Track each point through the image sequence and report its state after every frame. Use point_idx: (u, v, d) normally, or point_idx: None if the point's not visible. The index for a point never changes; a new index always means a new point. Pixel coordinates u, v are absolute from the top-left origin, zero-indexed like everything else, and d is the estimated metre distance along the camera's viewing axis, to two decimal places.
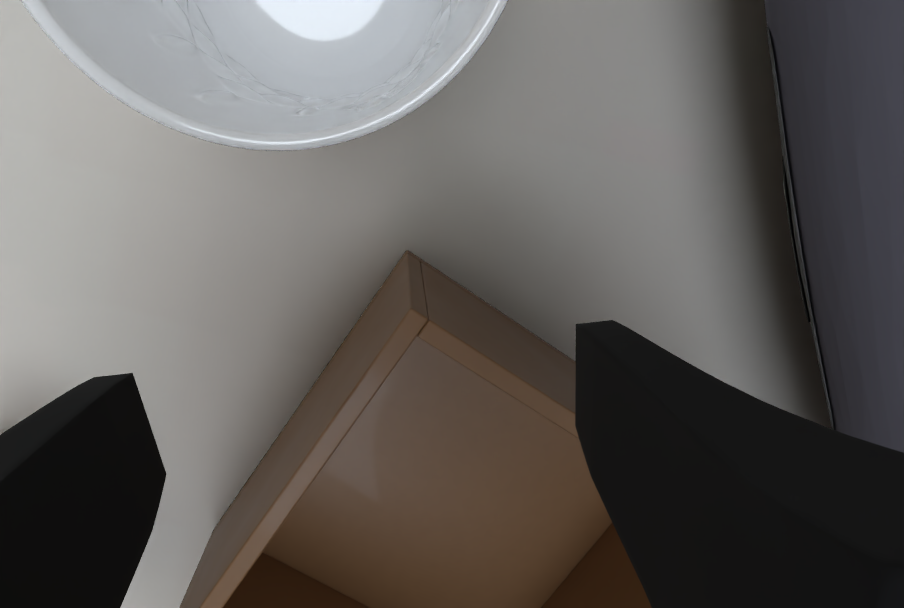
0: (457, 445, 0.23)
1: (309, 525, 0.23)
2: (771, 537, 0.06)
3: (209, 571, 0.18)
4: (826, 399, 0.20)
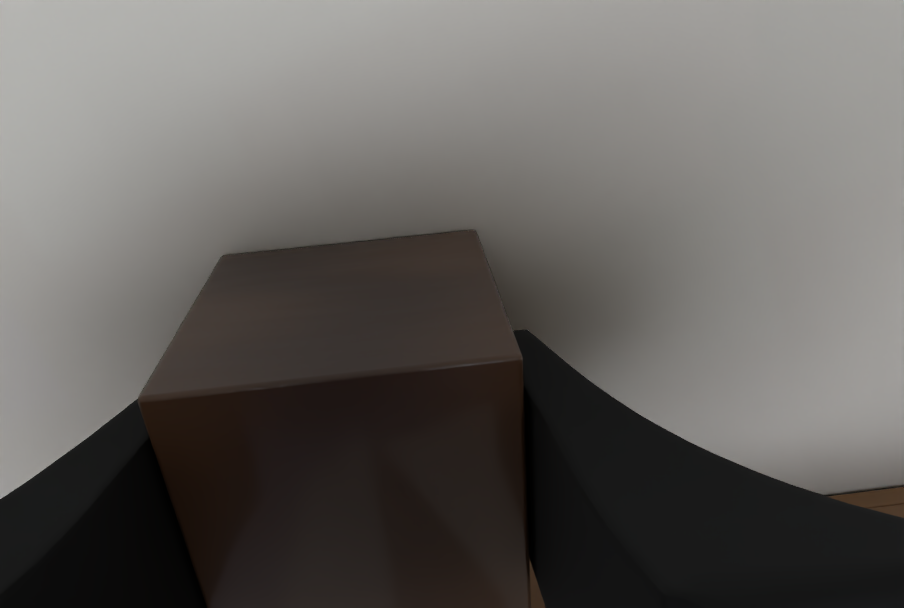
0: None
1: None
2: (605, 558, 0.05)
3: None
4: None
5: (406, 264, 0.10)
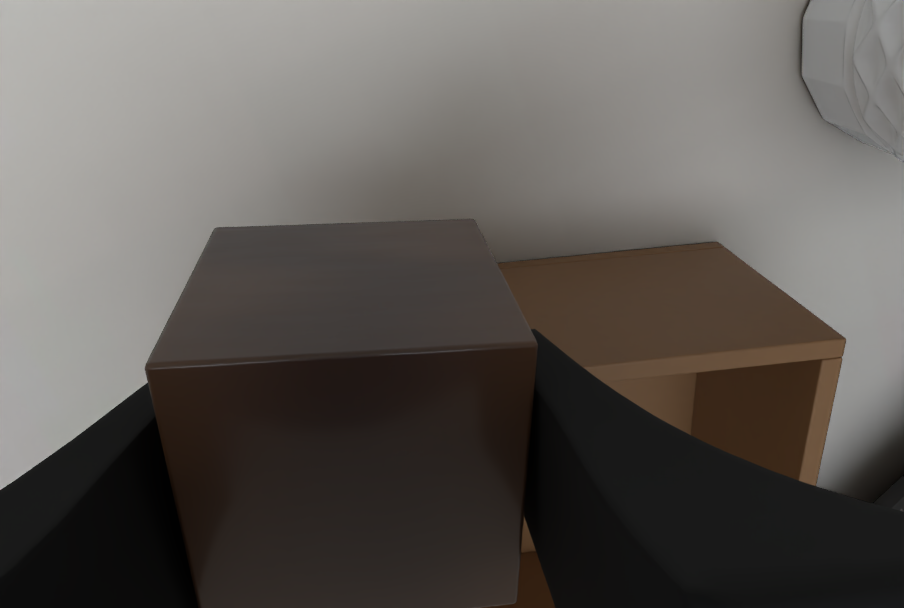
0: None
1: None
2: (620, 557, 0.05)
3: None
4: None
5: (409, 248, 0.10)
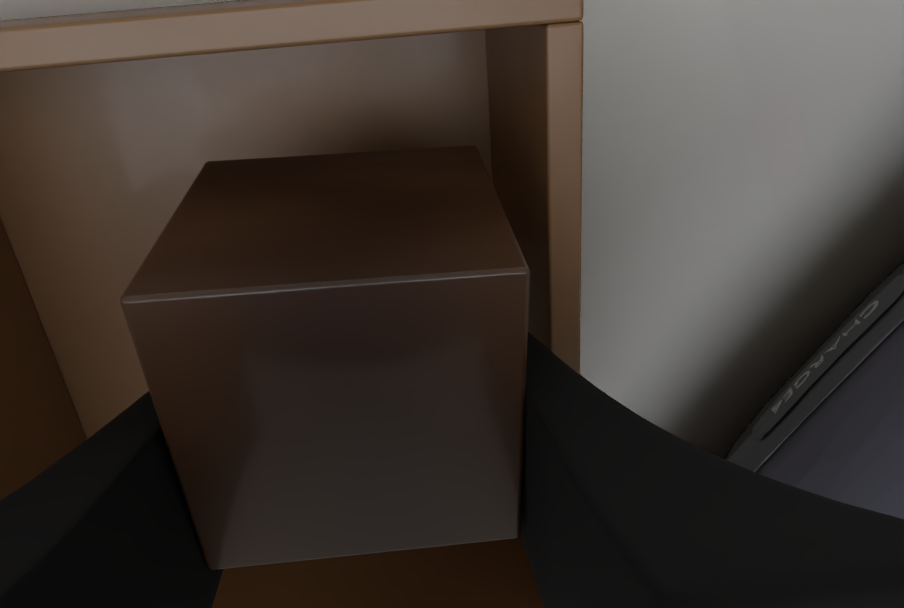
0: None
1: (60, 149, 0.14)
2: (603, 559, 0.05)
3: None
4: None
5: (405, 177, 0.10)
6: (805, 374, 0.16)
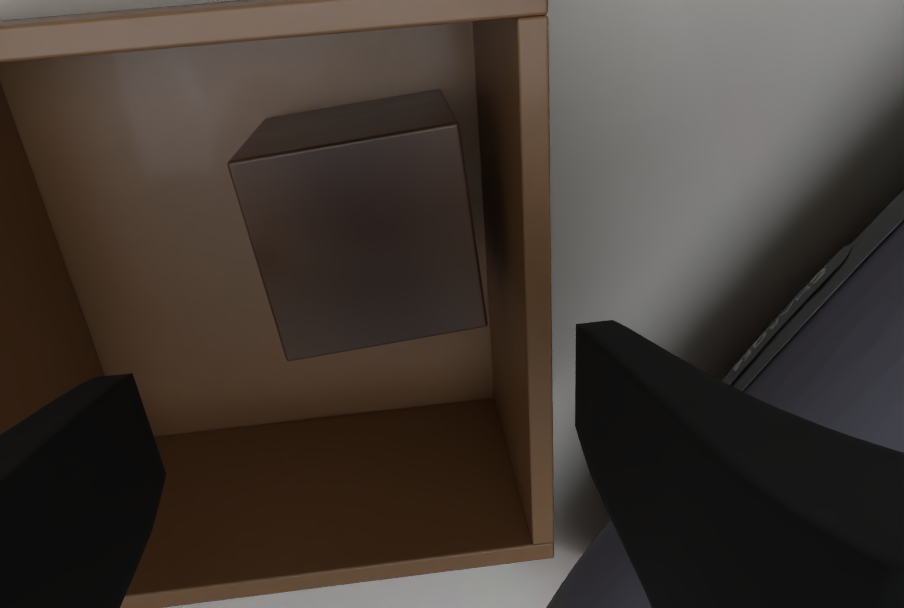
0: None
1: (95, 131, 0.16)
2: (771, 537, 0.06)
3: None
4: None
5: (391, 105, 0.15)
6: (762, 336, 0.18)
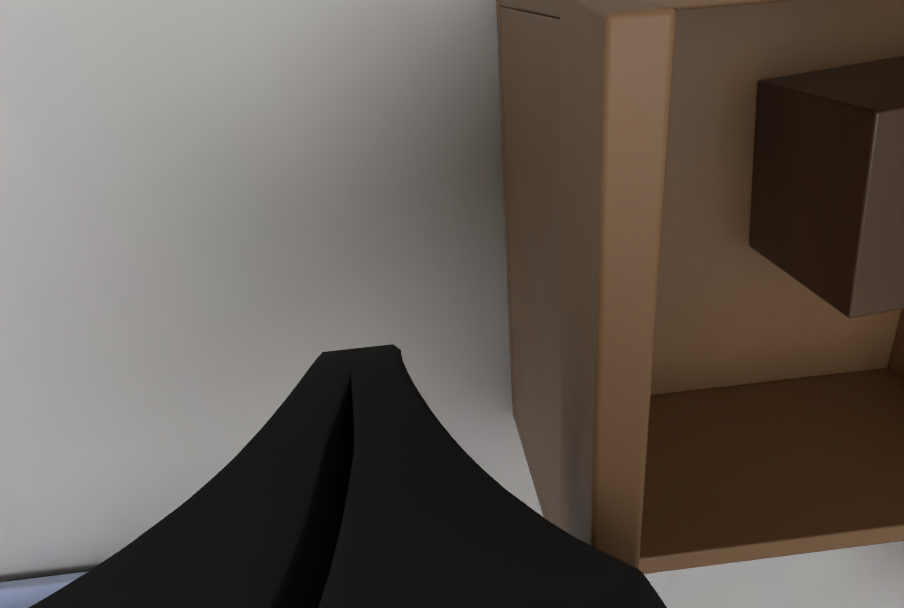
0: None
1: None
2: None
3: None
4: None
5: None
6: None
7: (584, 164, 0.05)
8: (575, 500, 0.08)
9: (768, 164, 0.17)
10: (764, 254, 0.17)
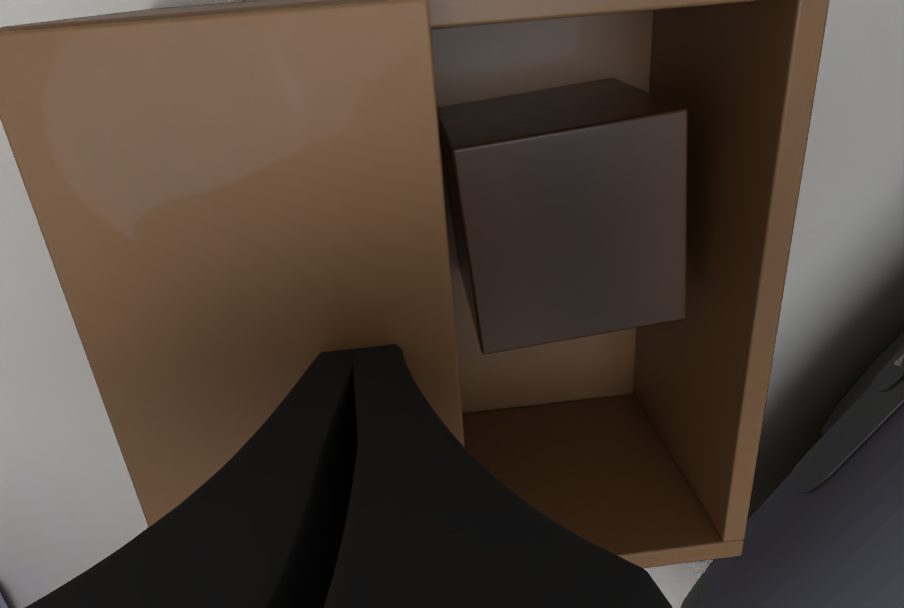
0: None
1: None
2: None
3: None
4: (829, 460, 0.18)
5: (577, 93, 0.15)
6: None
7: (340, 103, 0.09)
8: None
9: (448, 193, 0.16)
10: (463, 282, 0.17)
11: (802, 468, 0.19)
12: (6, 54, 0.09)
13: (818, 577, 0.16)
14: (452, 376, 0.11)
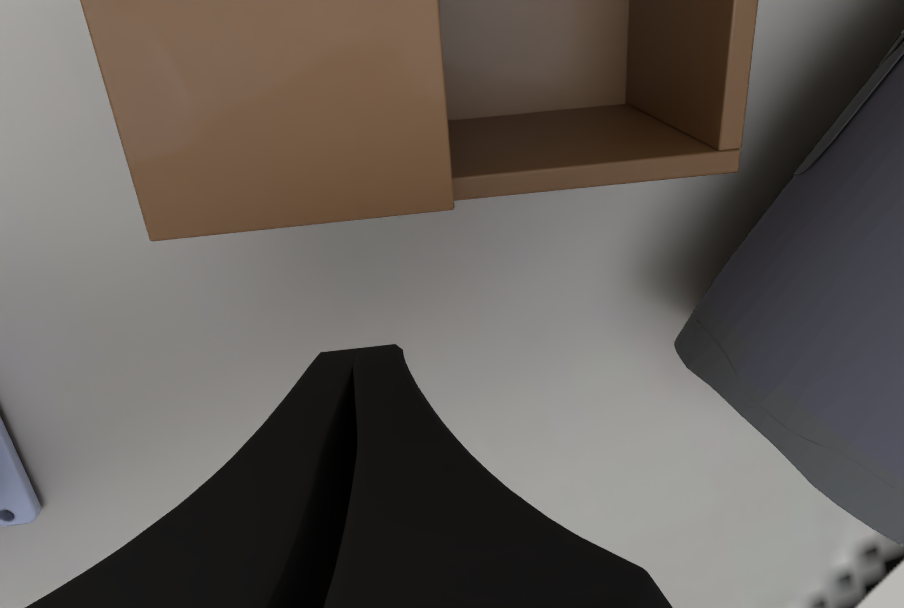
0: None
1: None
2: None
3: None
4: (832, 133, 0.17)
5: None
6: None
7: None
8: None
9: None
10: None
11: (803, 161, 0.18)
12: None
13: (821, 228, 0.15)
14: None
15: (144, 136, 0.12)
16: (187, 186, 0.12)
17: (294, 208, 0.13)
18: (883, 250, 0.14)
